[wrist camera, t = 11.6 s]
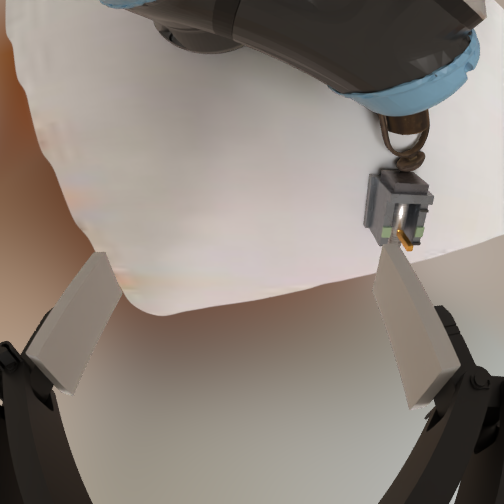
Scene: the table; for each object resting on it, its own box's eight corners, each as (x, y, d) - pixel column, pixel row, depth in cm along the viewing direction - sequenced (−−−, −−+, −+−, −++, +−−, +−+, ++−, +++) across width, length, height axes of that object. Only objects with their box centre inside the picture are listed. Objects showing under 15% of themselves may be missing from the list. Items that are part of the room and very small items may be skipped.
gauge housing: (369, 174, 36) (387, 193, 30) (415, 176, 35) (437, 196, 30) (363, 224, 41) (377, 250, 35) (406, 224, 40) (424, 249, 34)
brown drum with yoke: (452, 86, 23) (392, 71, 22) (449, 182, 29) (392, 185, 28) (417, 84, 29) (359, 75, 28) (416, 169, 35) (361, 170, 34)
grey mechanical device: (381, 169, 34) (404, 191, 28) (412, 171, 34) (438, 193, 27) (372, 234, 40) (389, 265, 34) (401, 234, 39) (421, 263, 33)
